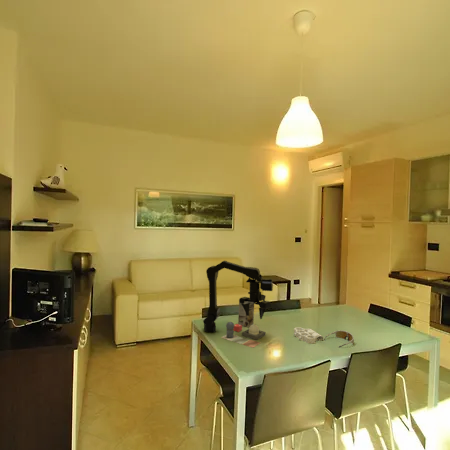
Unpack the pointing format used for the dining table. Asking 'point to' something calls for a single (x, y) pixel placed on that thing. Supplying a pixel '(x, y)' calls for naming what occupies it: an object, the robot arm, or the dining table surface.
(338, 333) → the sunglasses
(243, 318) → the coffee box
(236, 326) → the red die
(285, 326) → the dining table surface
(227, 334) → the pawn
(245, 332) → the base
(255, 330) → the cream cylinder
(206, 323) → the robot arm
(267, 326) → the dining table surface
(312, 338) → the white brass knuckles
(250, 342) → the game board
